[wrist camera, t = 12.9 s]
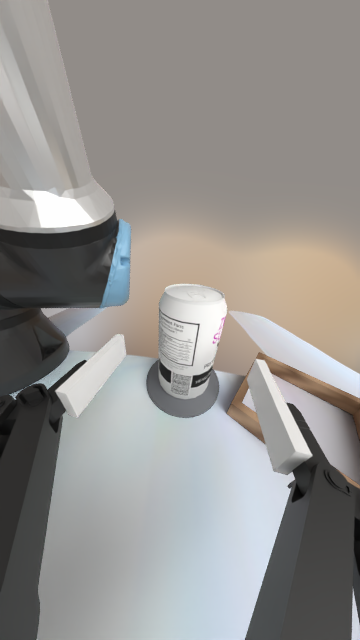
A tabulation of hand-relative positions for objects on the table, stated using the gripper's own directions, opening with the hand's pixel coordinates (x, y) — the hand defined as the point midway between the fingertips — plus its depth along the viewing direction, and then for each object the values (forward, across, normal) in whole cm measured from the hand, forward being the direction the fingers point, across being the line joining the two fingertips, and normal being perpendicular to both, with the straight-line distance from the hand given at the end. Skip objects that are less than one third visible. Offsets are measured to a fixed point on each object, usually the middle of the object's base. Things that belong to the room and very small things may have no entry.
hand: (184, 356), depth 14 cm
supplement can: (+5, 0, -10) cm, 11 cm away
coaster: (+6, 0, -10) cm, 12 cm away
